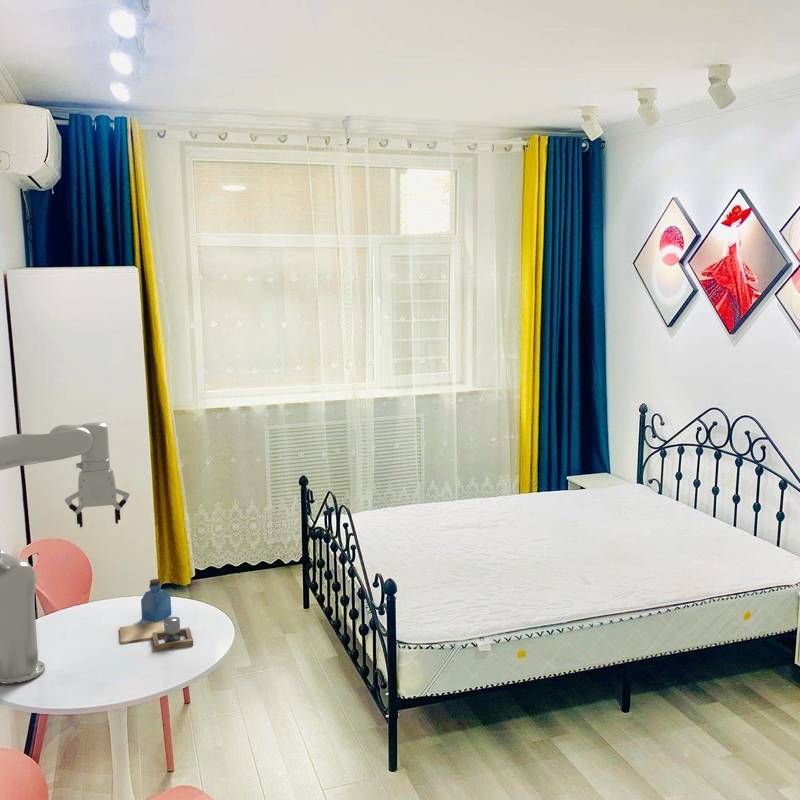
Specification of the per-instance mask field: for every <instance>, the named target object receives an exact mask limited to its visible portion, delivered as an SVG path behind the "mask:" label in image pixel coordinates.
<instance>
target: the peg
mask: <svg viewBox="0 0 800 800" xmlns="http://www.w3.org/2000/svg"><path fill="white" fill-rule="evenodd" d="M180 620H181V619H180V617H178V616H168V617H166V618H164V619H163V631H164V643H167V642H174V641H180V640H181V638H182V637H181V635H180V629H181V621H180Z"/></svg>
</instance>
